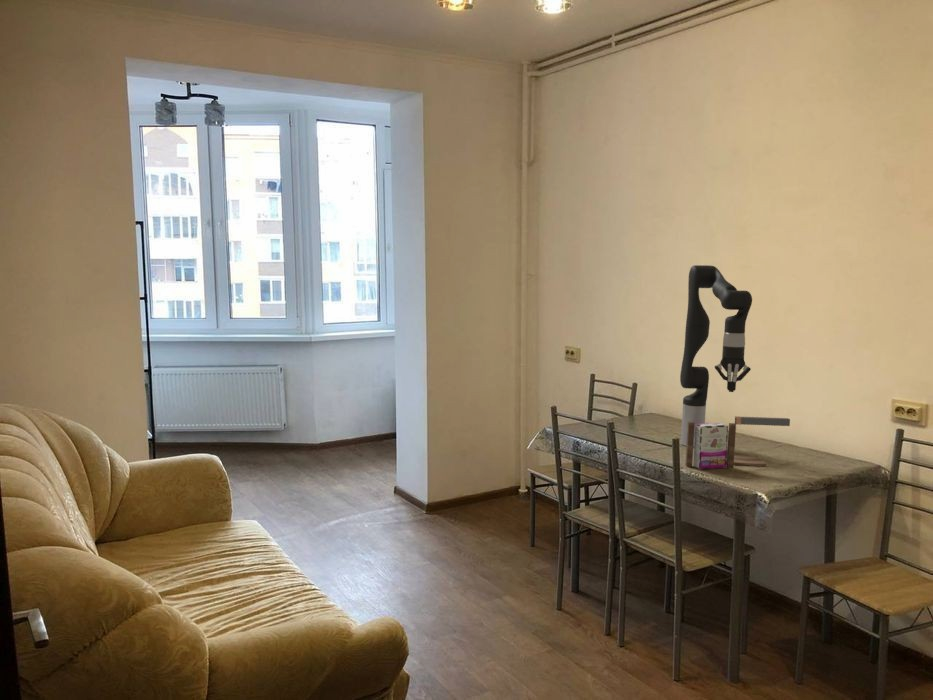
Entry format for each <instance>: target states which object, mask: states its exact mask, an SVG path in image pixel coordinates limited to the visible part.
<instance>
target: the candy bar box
mask: <svg viewBox="0 0 933 700" xmlns="http://www.w3.org/2000/svg"><path fill="white" fill-rule="evenodd" d="M728 432H729V424H725V423H723V422H714V423H713V422H709V423H705V424H695V439H694V447H693V467H694V468H696V469H698V470H713V469H714V470H715V469H716V470H717V469H727V467H726V466H727V465H726V460H727V449H728Z"/></svg>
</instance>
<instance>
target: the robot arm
mask: <svg viewBox="0 0 933 700" xmlns="http://www.w3.org/2000/svg"><path fill="white" fill-rule="evenodd" d="M687 287H688V289H687V291H688V294H687V295H688V296H687V298H688V299H687V311H686V312H687V313H686V321H685V331H684V332H685V333H684V348H683V355H682V362H681V369H680V375H679V376H680V377H679V378H680V379H679V380H680V386H681V387H682V388H683V389H690V390H691V389H695V391H694V392H692V393H690V394H688V395H685V396H684V397H683V398H682V412H681V414H682V417H681V432H680V433H681V437H680V445H682V446H685V447H687V428H688V422H694V439H695V424H706V411H707V401H708V400H707V399H708V391H709V383H710V382H709V381H710V374H709V372H710V371H709V370H708V368H707V367H705V366H693V363H694V360H695V357H696V356H697V354H698V352H699V351H700V350H701V348H702V347H704V345H705V344H706V342H707V340H708V338H709V334H710V333H709V332H710V325H711V324H710V323H711V321H710V317H709V315H708V313H707V311H706V310H705V307H704V306H703V304H702V301H701V300H700V299H701V298H700V289H711V290H712V294H713V295H714V297H716V298H717V299H718V300H719V301H720V304H721V307H722V308H723V309H725V310H728V311H733V310H734V311H735V310H736V311H737V312H736V314H734V315H730V316H727V317H725V319H724V329H723V330H724V333H723V339H722V355H721V359H720V362H719V363H718V364H717V365H714V369H715V370H716V371H717V373H718V374H719V376H720V377H721V378H722V380H723V381H726V384H727V386H726V389H727V391H728V393H734V391H736V390H737V389H736V388H737V383H738V382H741V381H742V380H743V379H744V378H745V377H746V376H747V374H749V372H750V371H751V367H750V366H748V365H747V364H746V361H745V349H746V335H745V334H746V323H747V318H748V315H749V313H750V309H751V307H752V303H753V296H752V294H751V292H750V291H748V290H738V289H737V288H736V287H735V286H734V285H733V284H731V282H729V281H727V280H726V278H725V277H724V276H723V274H722V273H721V271H720V270H719V269H718V268H717V267H716V266H714V265H706V264H704V265H697V264H695V265H692V266H691V267H690V269H689V272H688V285H687ZM723 369H724V370H725V372H726V375H725V374H724V373H723V371H722V370H723ZM741 370H743V371H742V372H740V371H741ZM739 372H740V374H738V373H739ZM693 448H694V441H693Z"/></svg>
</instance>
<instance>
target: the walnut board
mask: <svg viewBox="0 0 933 700" xmlns="http://www.w3.org/2000/svg"><path fill="white" fill-rule="evenodd" d="M741 465H749V466H748V467H766V466H767V463H766V462H765V461H764V460H762V458H760V456H758V455H750V454H749V455H748V454H734V466H741ZM726 466H727V460H726Z"/></svg>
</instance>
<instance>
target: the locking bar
mask: <svg viewBox="0 0 933 700" xmlns="http://www.w3.org/2000/svg"><path fill="white" fill-rule="evenodd" d="M734 423H735V424H736V425H739V426H740V425H744V426H745V425H747V426H748V425H749V426H774V427H775V426H777V427H779V426H780V427H790V425H791V419H790V418H788V417H787V418H786V417H763V416H762V417H761V416H760V417H759V416H755V417H754V416H737V415H735V416H734Z"/></svg>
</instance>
